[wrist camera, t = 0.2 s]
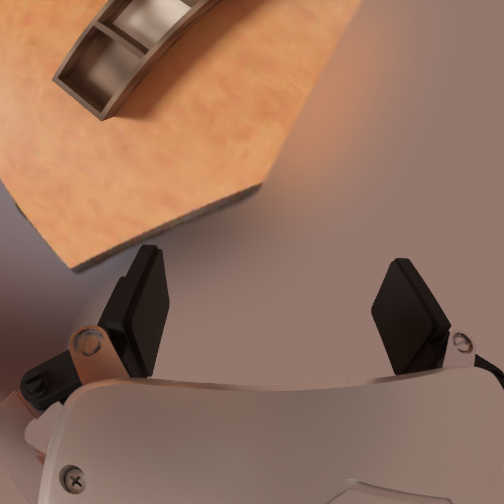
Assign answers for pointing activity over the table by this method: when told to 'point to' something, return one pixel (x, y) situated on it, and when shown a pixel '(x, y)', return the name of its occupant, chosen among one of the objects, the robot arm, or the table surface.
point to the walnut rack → (124, 49)
